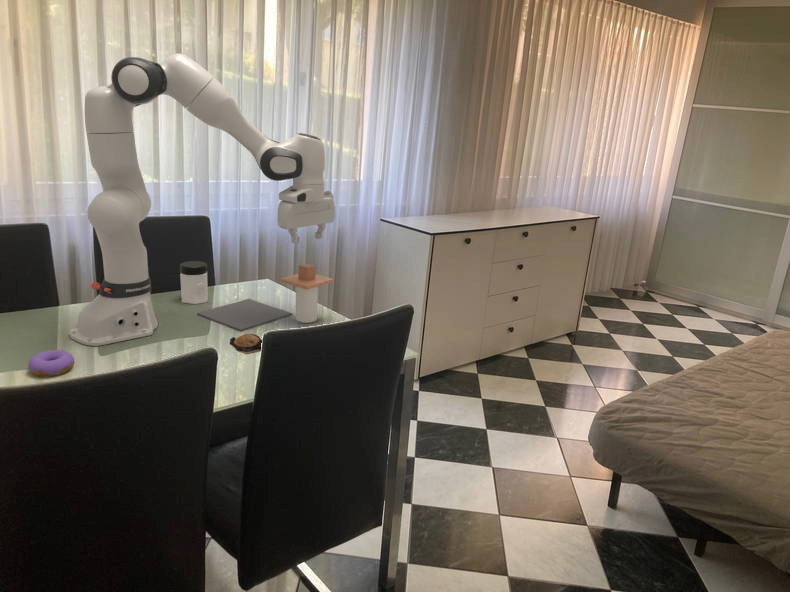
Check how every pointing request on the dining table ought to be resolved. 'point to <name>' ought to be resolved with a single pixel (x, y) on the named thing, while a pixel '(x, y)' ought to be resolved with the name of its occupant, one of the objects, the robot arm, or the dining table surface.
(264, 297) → the dining table surface
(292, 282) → the lid
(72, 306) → the dining table surface
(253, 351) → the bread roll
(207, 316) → the mat
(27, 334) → the dining table surface
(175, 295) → the dining table surface
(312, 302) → the can
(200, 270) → the jar
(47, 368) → the donut
